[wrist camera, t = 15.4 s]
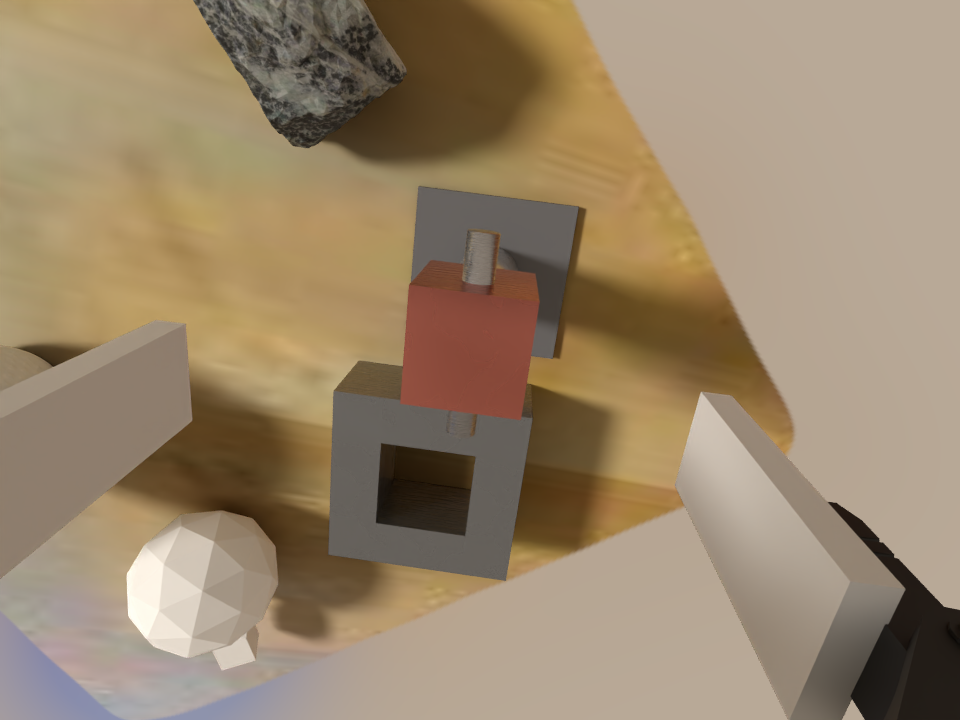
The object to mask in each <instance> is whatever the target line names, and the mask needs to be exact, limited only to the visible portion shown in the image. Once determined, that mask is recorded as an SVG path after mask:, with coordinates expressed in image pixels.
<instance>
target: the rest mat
mask: <svg viewBox="0 0 960 720" xmlns="http://www.w3.org/2000/svg"><path fill="white" fill-rule="evenodd" d="M578 208H579V207H578V206H570V205H562V204H554V203H547V202H539V201H531V200H523V199H515V198H507V197H500V196H492V195H484V194H476V193H468V192H460V191H453V190H445V189H437V188H429V187H421V186H419V187H418V199H417V212H416V224H415V237H414V250H413V263H412V276H411V282H412V281H413V280H414V279H415V278H416V276H417V275H418V274H419V273H420V272H421V271H422V270H423V268H424V267H425V266H426V265H427V264H428V263H429V262H430V260H436V261H444V262H452V263H460V261H461V260H462V258H463V257H464V256H465V247H466V238H467V229H483V230H490V231H495V232H499V233H501V236H500V244H499V247H500V248H502V249H503V250H505V251H506V252H508V253H509V254H510V255H511V256H512V258H513V259H514V261H515V263H516V265H517V268H518V271H521V272H529V273H535V275H536V281H537V288H538V294H539V301H540V303H539V309H538V315H537V322H536V328H535V334H534V340H533V347H532V353H531V356H535V357H543V358H550V359H553V353H554V347H555V342H556V336H557V330H558V324H559V318H560V313H561V307H562V301H563V295H564V290H565V284H566V278H567V272H568V266H569V261H570V255H571V249H572V243H573V237H574V232H575V226H576V220H577V214H578Z"/></svg>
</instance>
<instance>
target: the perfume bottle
mask: <svg viewBox="0 0 960 720" xmlns="http://www.w3.org/2000/svg"><path fill="white" fill-rule="evenodd" d="M277 586H278V572H277V559H276V546H275V545H274V544H273V543H272V541H271V540H270V539H269V538H268V536H267V535H266V534H265V533H264V532H263V530H262V529H261V528H260V527H259V525H258V524H257V523H256V522H255V520H254V519H253V518H249V517H246V516H242V515H238V514H234V513H230V512H226V511H223V510H221V511H210V512H200V513H189V514H181V515H179V516H178V517H177V518H176V519H175V520H173V521H172V522H171V523H170V524H169V525H168V526H166V527H165V528H164V529H163V530H162V531H160V532H159V533H158V534H157V535H156V536H155V537H153V538H152V539H151V540H150V541H149V542H147V543H146V544H145V545H144V546H143V548H142V550H141V551H140V553H139V555H138V556H137V558H136V560H135V561H134V563H133V565H132V567H131V568H130V570H129V572H128V573H127V595H128V617H129V618H130V619H131V620H132V622H133V623H134V624H135V625H136V627H137V628H138V629H139V630H140V631H141V633H142V634H143V635H144V636H145V638H146V639H147V640H148V641H149V642H150V643H151V644H152V645H153V646H154V647H156V648H159V649H162V650H165V651H168V652H171V653H174V654H176V655H179V656H182V657H185V658H190V657H194V656H197V655H200V654H204V653H207V652H210V651H213V653H214V655H215V657H216V660H217V662H218V664H219V666H220V668H221V670H225V669H228V668H232V667H235V666H238V665H242V664H245V663H248V662H252V661H255V660H256V654H257V645H258V637H259V632H258V630H257V628H256V624H257V623H258V622H259V621H261V620H262V619H263V617H264V615H265V613H266V610H267V608H268V606H269V604H270V601H271V599H272V597H273V595H274V593H275V590H276V588H277Z"/></svg>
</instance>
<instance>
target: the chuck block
mask: <svg viewBox="0 0 960 720" xmlns="http://www.w3.org/2000/svg"><path fill="white" fill-rule="evenodd" d="M402 373H403V367H400V366H393V365H386V364H378V363H371V362H364V361H358V362H357V363H356V365H355V366H354V367H353V368H352V370H351V371H350V372H349V373H348V374H347V376H346V377H345V378H344V379H343V380H342V382H341V383H340V384H339V385H338V386H337V388H336V389H335V390H334V396H333V427H332V458H331V488H330V519H329V550H328V555H334V556H341V557H347V558H354V559H361V560H368V561H375V562H381V563H388V564H395V565H402V566H409V567H416V568H422V569H429V570H436V571H443V572H450V573H457V574H463V575H470V576H477V577H484V578H491V579H497V580H504V581H506V576H507V570H508V564H509V558H510V552H511V546H512V540H513V534H514V528H515V522H516V516H517V510H518V504H519V498H520V492H521V486H522V480H523V474H524V468H525V462H526V456H527V450H528V444H529V438H530V432H531V426H532V420H533V414H532V391H531V384H527V385H526V391H525V397H524V403H523V410H522V416H521V420H516V419H509V418H501V417H494V416H486V415H479V414H478V415H477V423H476V430H475V435H474V436H472V437H469V438H457V437H453V436H451V435H449V434H448V433H447V432H446V423H447V414H448V410H442V409H435V408H427V407H420V406H413V405H405V404H400V399H401V386H402ZM396 445H398V446H405V447H412V448H419V449H426V450H433V451H440V452H448V453H455V454H462V455H469V456H476V458H475V466H474V473H473V481H472V489H471V490H469V489H462V488H455V487H448V486H441V485H434V484H427V483H420V482H413V481H406V480H399V479H394V470H395V457H396Z"/></svg>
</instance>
